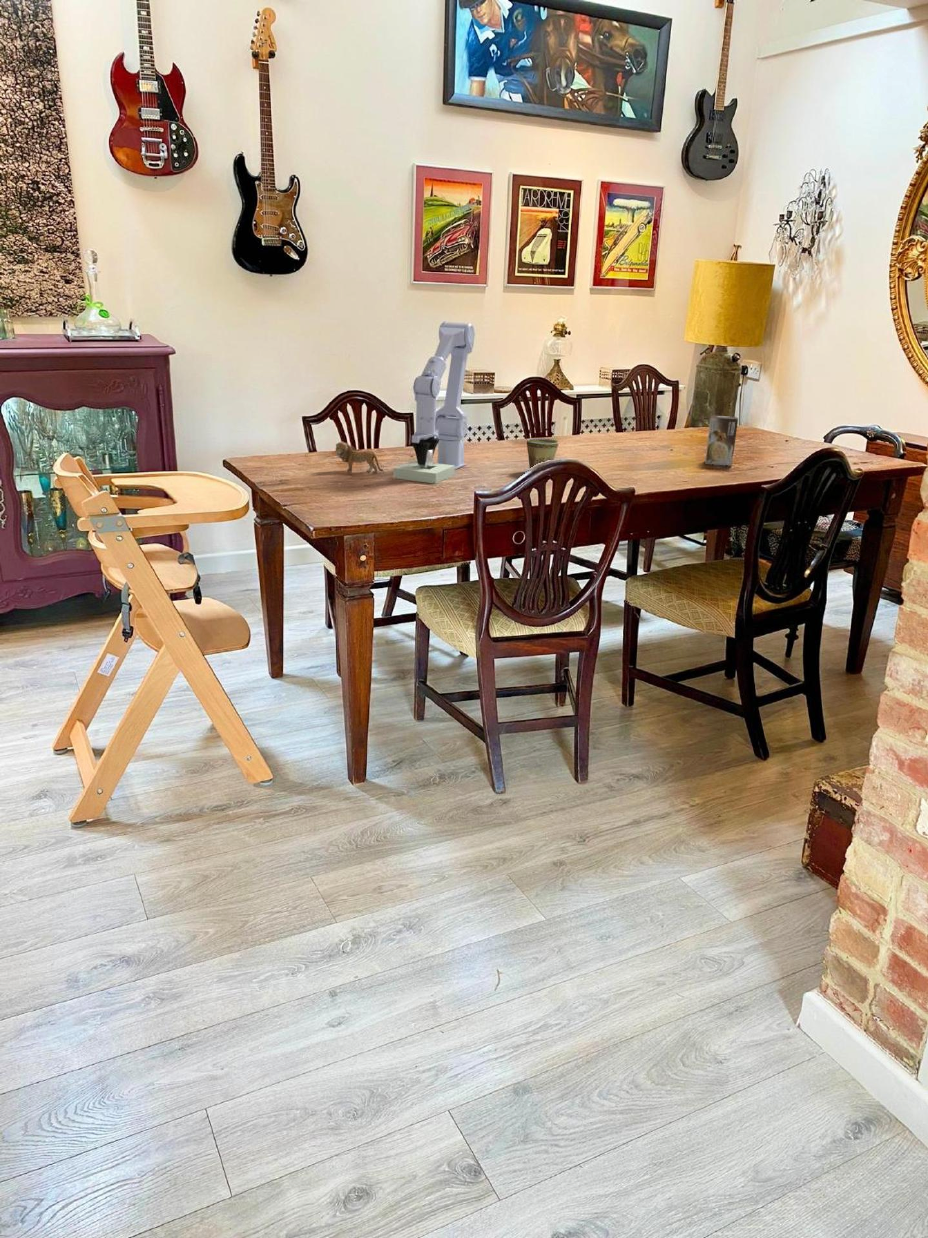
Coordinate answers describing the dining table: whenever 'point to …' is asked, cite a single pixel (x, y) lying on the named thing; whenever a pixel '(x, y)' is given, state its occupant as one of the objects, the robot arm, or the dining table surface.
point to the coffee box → (721, 440)
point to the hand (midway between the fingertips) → (424, 463)
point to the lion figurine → (356, 456)
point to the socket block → (424, 472)
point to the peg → (428, 460)
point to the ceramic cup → (541, 450)
